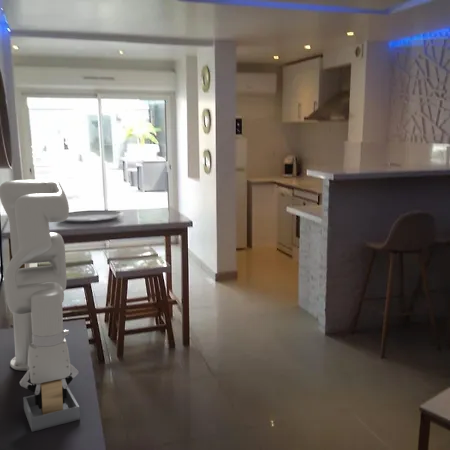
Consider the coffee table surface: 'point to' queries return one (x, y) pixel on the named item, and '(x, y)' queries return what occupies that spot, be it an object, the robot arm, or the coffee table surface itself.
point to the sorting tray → (51, 419)
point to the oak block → (51, 396)
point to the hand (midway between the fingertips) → (50, 403)
